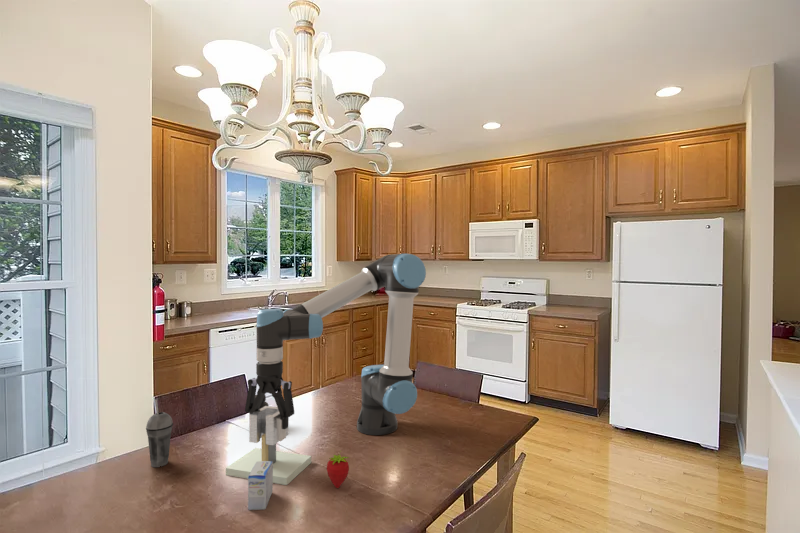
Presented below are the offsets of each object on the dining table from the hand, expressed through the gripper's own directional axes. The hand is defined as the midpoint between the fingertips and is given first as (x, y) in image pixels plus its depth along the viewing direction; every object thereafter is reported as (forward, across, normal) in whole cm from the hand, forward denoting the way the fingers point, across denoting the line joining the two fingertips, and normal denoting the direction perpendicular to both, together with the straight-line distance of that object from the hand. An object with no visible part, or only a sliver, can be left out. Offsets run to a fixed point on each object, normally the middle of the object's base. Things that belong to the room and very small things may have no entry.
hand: (269, 437), depth 125 cm
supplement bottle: (+10, -22, +26) cm, 35 cm away
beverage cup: (+10, -34, -7) cm, 36 cm away
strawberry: (+9, +24, -4) cm, 26 cm away
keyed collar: (0, 0, 0) cm, 0 cm away
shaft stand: (+9, 0, 0) cm, 9 cm away
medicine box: (+10, +8, -16) cm, 20 cm away
